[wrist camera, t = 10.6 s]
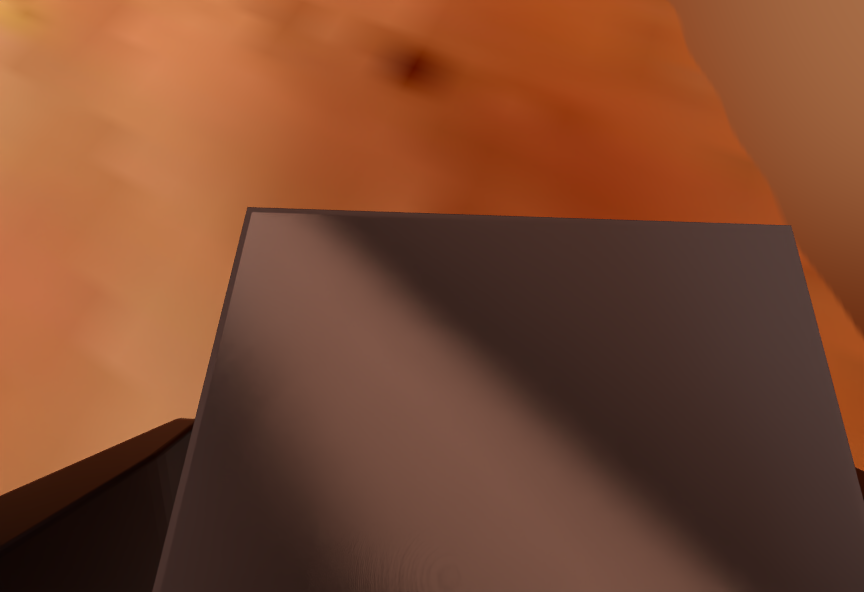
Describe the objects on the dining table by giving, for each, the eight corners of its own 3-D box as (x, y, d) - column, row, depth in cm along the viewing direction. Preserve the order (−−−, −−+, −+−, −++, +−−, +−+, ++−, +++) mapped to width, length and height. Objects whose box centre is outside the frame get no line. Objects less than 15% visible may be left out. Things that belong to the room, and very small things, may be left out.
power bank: (555, 666, 14) (1010, 1050, 3) (371, 653, 15) (64, 948, 3) (549, 475, 16) (791, 225, 5) (388, 465, 17) (246, 207, 5)
